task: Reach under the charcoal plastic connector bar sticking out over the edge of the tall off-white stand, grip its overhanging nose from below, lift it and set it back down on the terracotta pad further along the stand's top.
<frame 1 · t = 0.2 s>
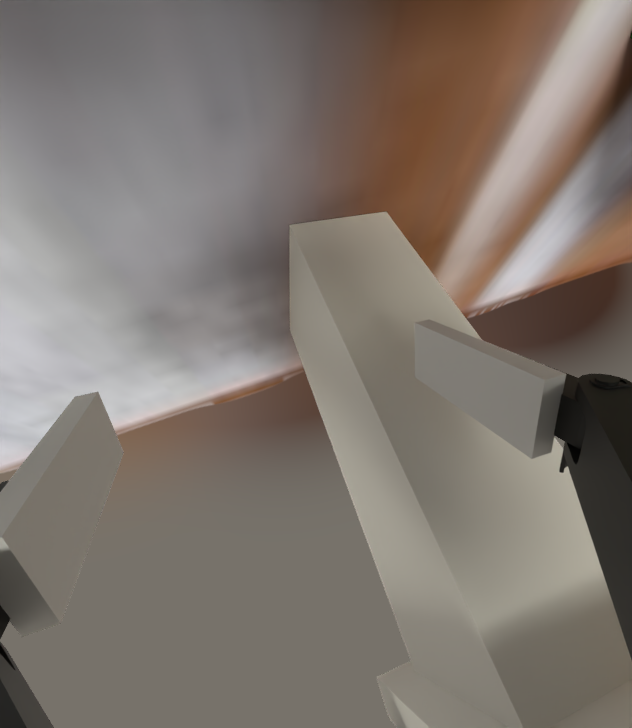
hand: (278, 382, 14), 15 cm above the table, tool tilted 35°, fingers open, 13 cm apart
stand: (331, 277, 31), on the table
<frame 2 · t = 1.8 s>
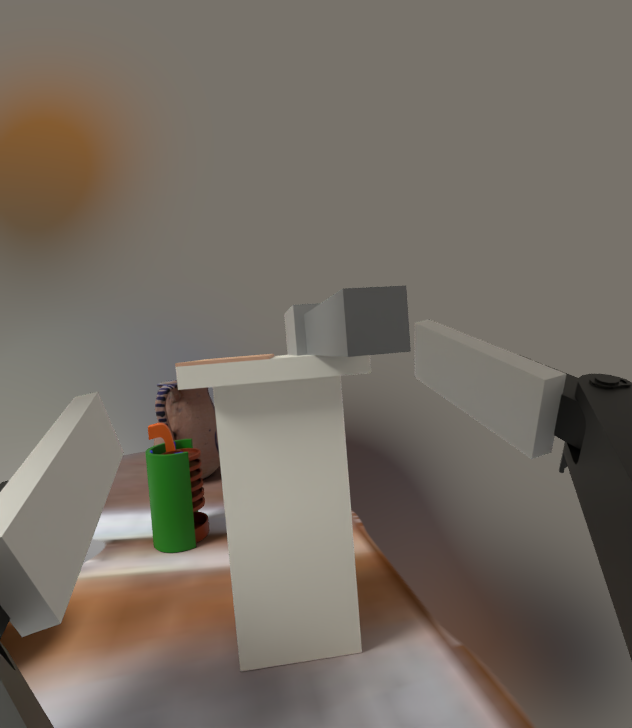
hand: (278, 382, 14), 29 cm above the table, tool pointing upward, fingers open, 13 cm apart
stand: (300, 628, 37), on the table
connector bar: (326, 353, 34), point 30 cm above the table, touching stand
ceramic pitcher: (191, 479, 86), on the table
motor: (182, 537, 59), on the table
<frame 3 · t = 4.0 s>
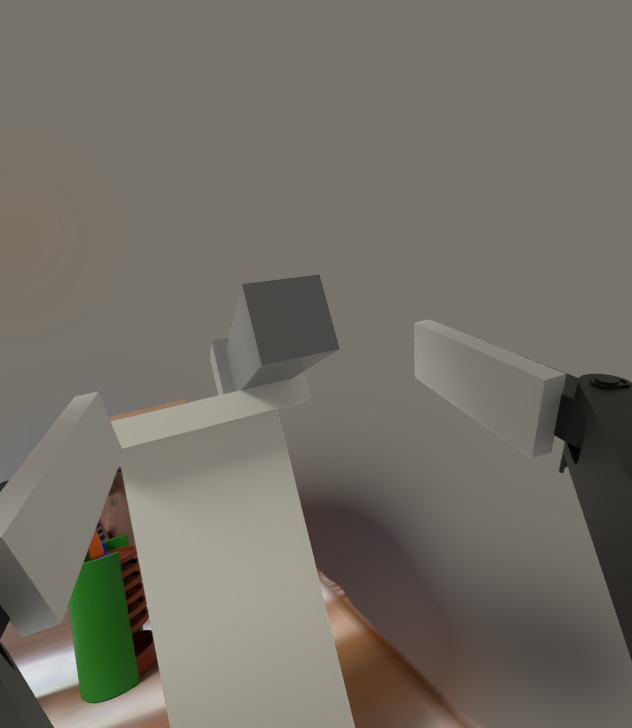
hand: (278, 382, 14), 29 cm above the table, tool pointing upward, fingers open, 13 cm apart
connector bar: (259, 389, 29), point 30 cm above the table, touching stand
ceramic pitcher: (138, 588, 71), on the table
motor: (122, 673, 45), on the table
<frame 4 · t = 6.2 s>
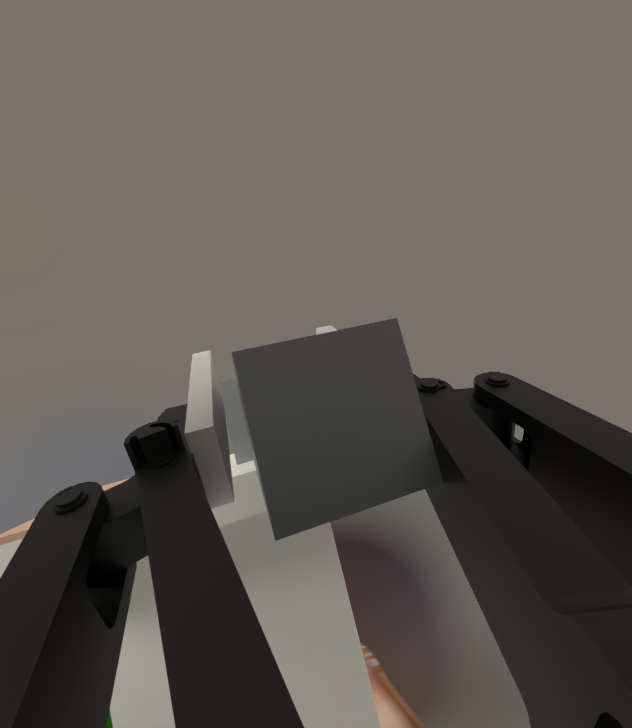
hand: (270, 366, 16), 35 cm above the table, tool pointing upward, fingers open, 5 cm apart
connector bar: (285, 450, 21), point 30 cm above the table
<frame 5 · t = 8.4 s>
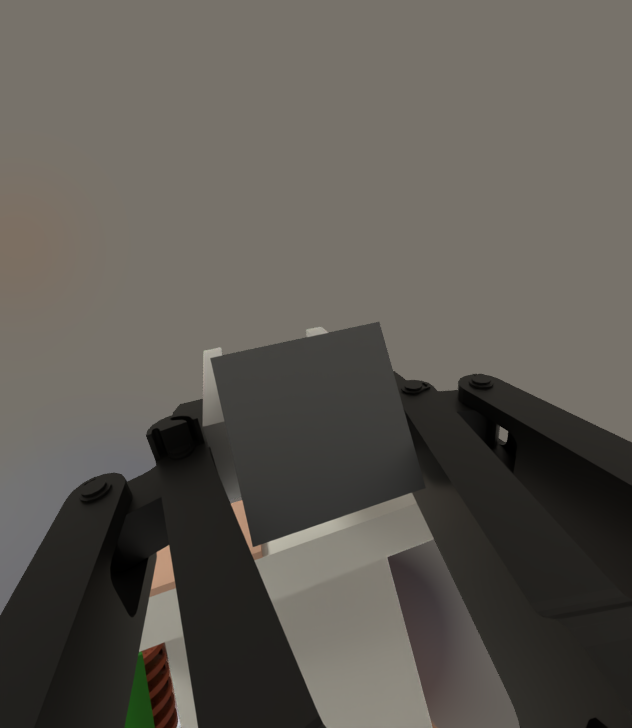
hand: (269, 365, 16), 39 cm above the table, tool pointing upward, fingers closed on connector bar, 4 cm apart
connector bar: (282, 451, 21), point 34 cm above the table, touching gripper
when the fingers open (36 cm above the table, at t = 10.3 s): connector bar drops 1 cm, resting on stand.
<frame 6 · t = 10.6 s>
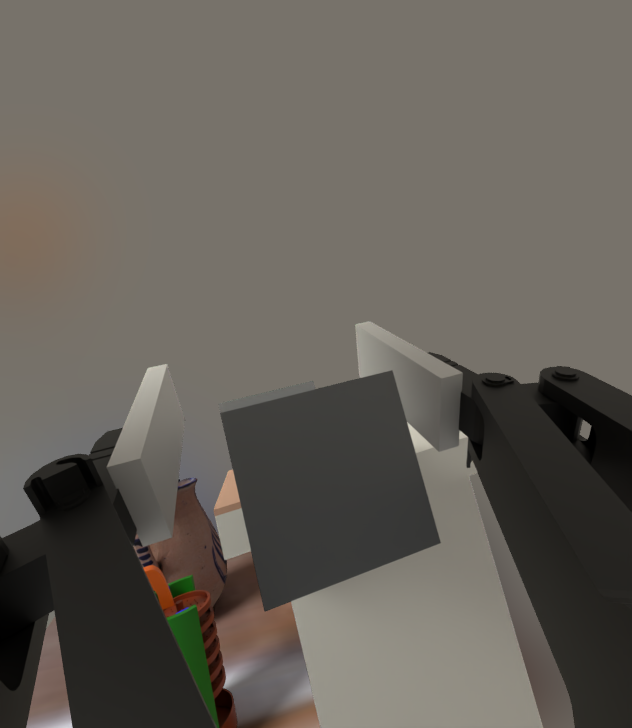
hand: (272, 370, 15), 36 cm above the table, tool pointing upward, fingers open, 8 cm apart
connector bar: (286, 471, 21), point 30 cm above the table, touching stand
ceramic pitcher: (187, 621, 64), on the table
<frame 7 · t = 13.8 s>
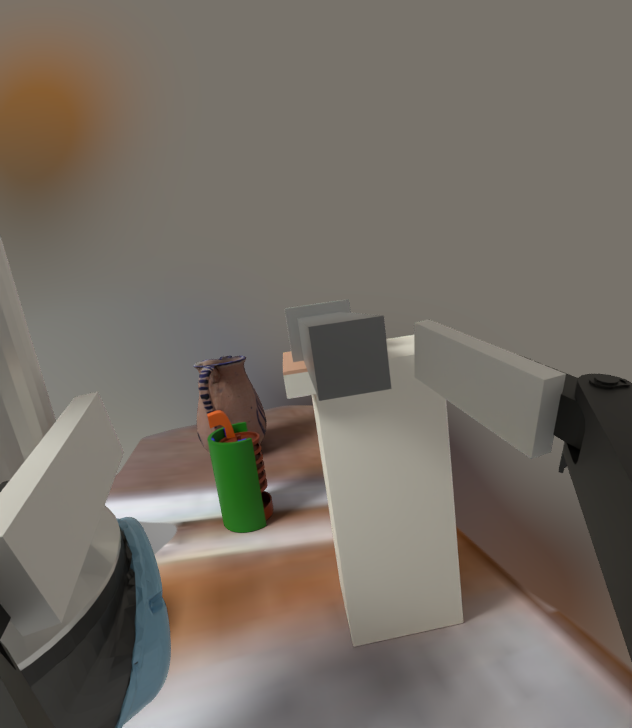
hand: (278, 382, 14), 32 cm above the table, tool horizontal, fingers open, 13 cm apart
stand: (396, 602, 40), on the table
connector bar: (324, 357, 32), point 30 cm above the table, touching stand
ceramic pitcher: (236, 455, 88), on the table
motor: (249, 516, 61), on the table
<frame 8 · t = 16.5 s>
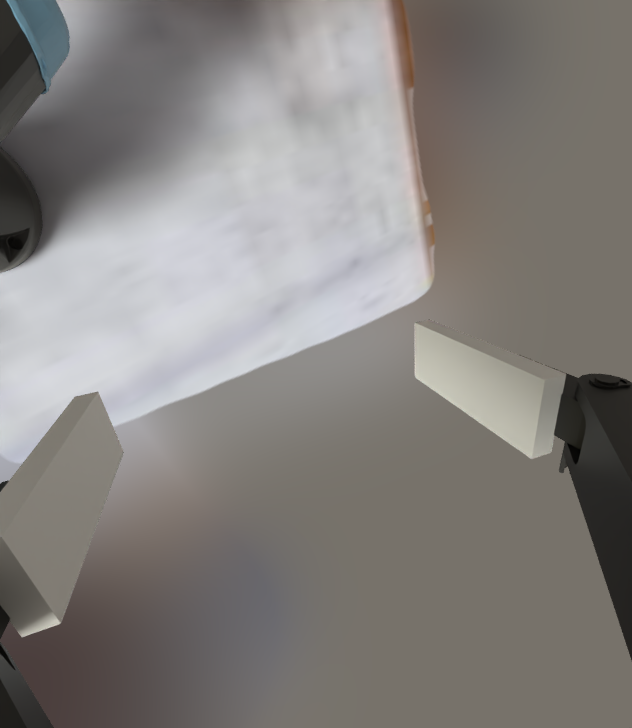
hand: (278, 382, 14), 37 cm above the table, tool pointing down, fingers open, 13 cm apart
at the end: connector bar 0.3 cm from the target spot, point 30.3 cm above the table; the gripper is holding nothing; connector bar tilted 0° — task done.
